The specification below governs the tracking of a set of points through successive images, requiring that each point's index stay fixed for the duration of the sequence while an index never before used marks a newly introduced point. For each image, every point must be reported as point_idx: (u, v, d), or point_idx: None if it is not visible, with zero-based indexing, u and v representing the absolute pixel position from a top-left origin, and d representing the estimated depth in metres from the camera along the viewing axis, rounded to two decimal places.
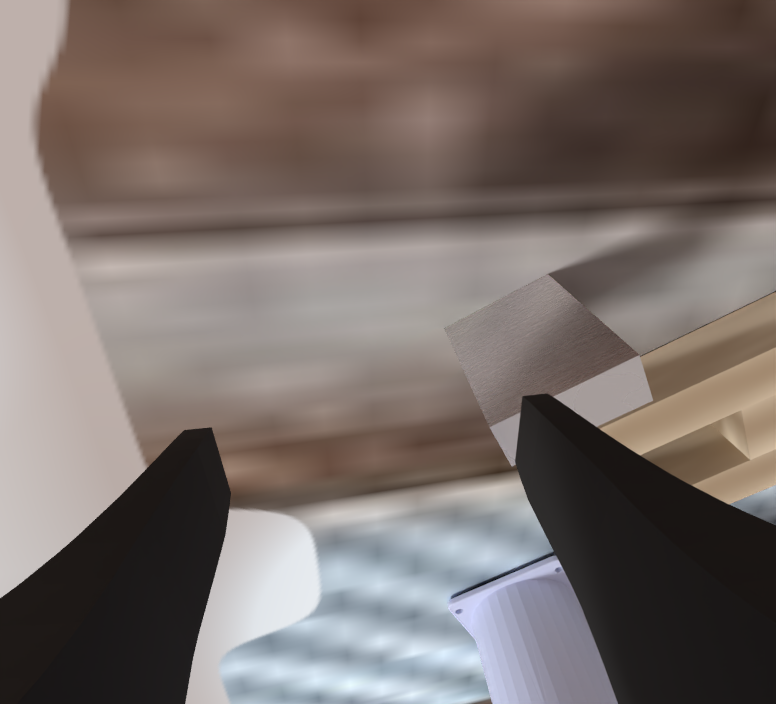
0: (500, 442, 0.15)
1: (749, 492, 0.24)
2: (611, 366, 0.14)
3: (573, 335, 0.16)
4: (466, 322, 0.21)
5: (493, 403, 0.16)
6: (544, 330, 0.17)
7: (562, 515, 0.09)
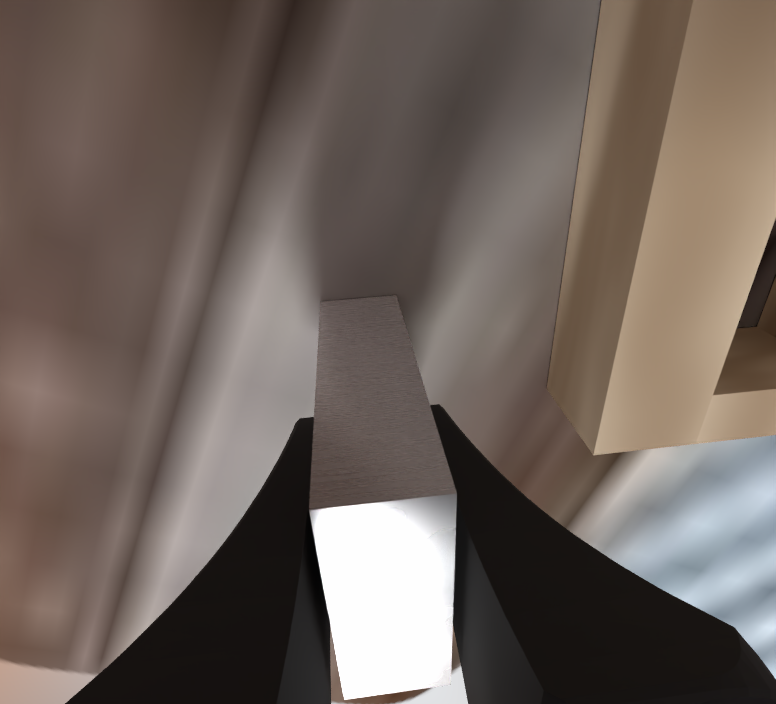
0: (386, 691, 0.09)
1: None
2: (316, 546, 0.07)
3: None
4: None
5: None
6: None
7: None
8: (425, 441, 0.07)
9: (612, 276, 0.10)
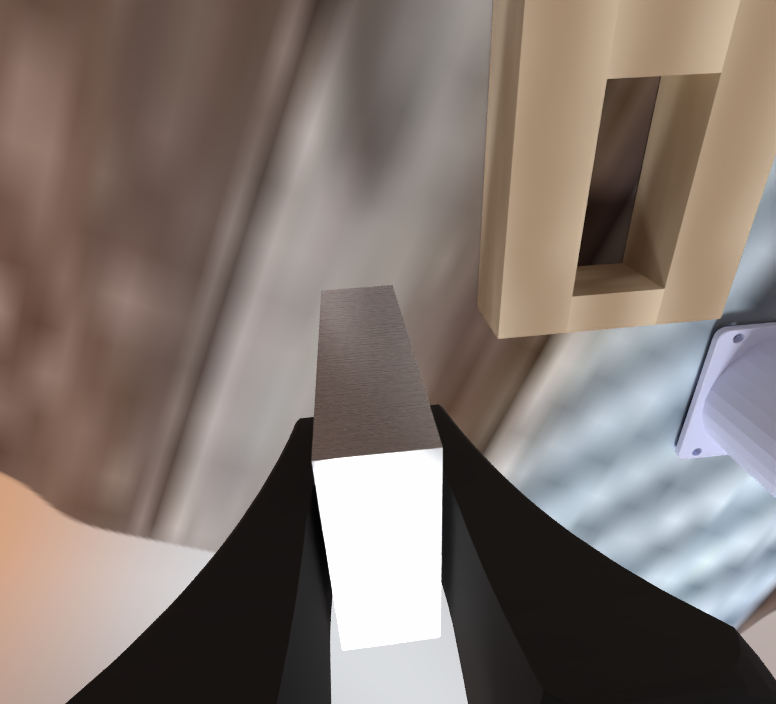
0: (381, 643, 0.10)
1: None
2: (318, 497, 0.08)
3: None
4: None
5: None
6: None
7: None
8: (416, 406, 0.08)
9: (501, 215, 0.16)
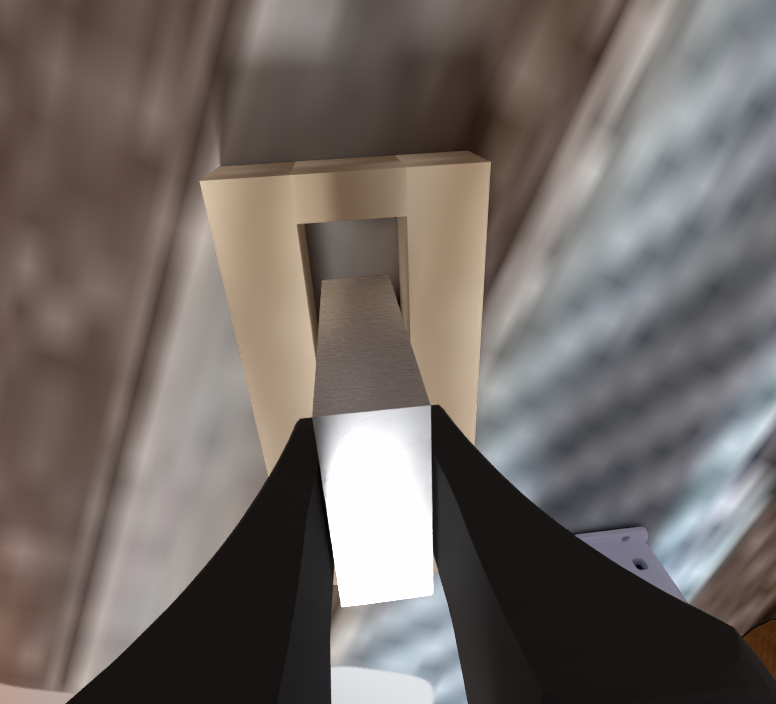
0: (378, 600, 0.10)
1: None
2: (318, 453, 0.08)
3: None
4: None
5: None
6: None
7: (437, 530, 0.09)
8: (407, 373, 0.09)
9: None
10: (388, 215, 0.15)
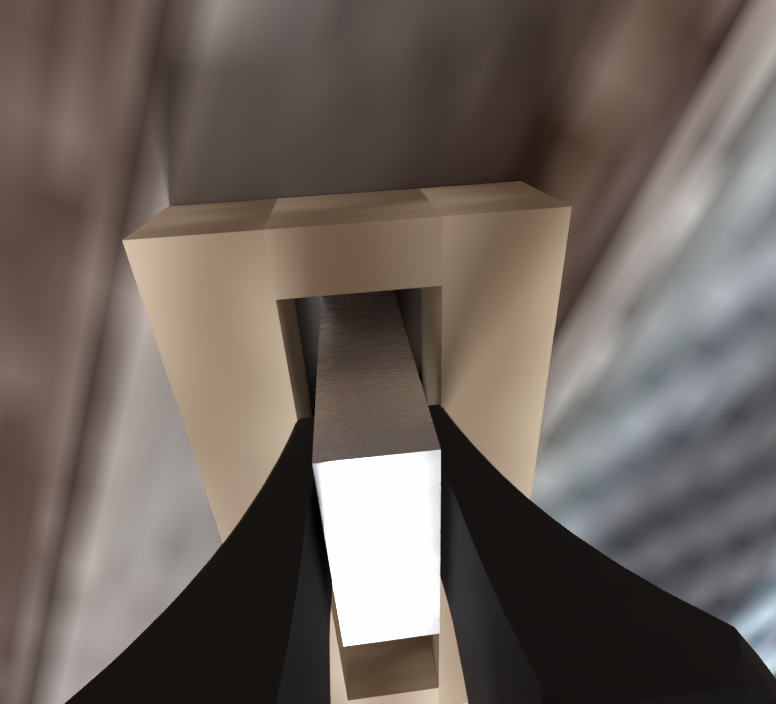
0: (381, 639, 0.10)
1: None
2: (318, 498, 0.08)
3: None
4: None
5: None
6: None
7: None
8: (414, 408, 0.08)
9: None
10: (414, 285, 0.10)
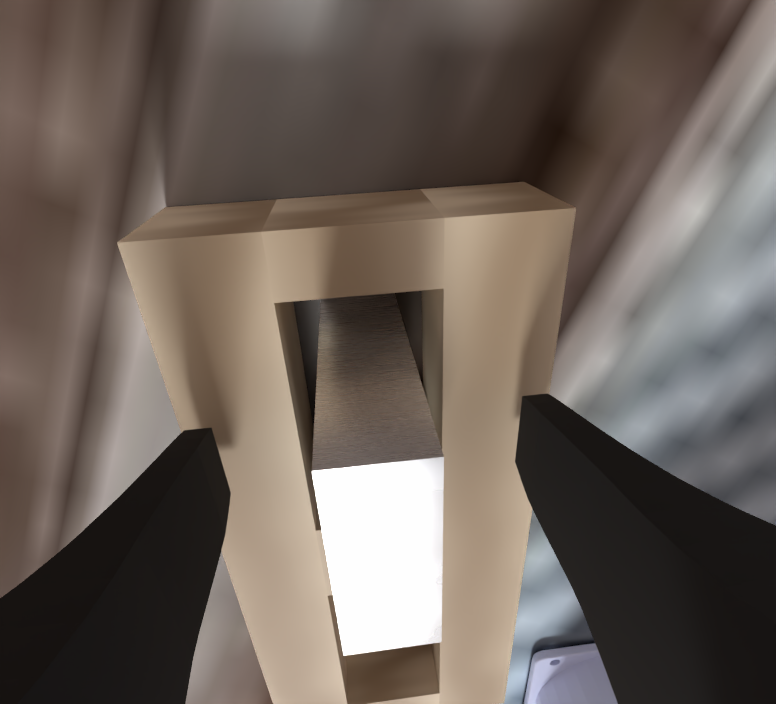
0: (382, 648, 0.10)
1: (514, 578, 0.15)
2: (318, 506, 0.08)
3: None
4: None
5: None
6: None
7: (562, 516, 0.09)
8: (416, 413, 0.08)
9: None
10: (415, 288, 0.10)
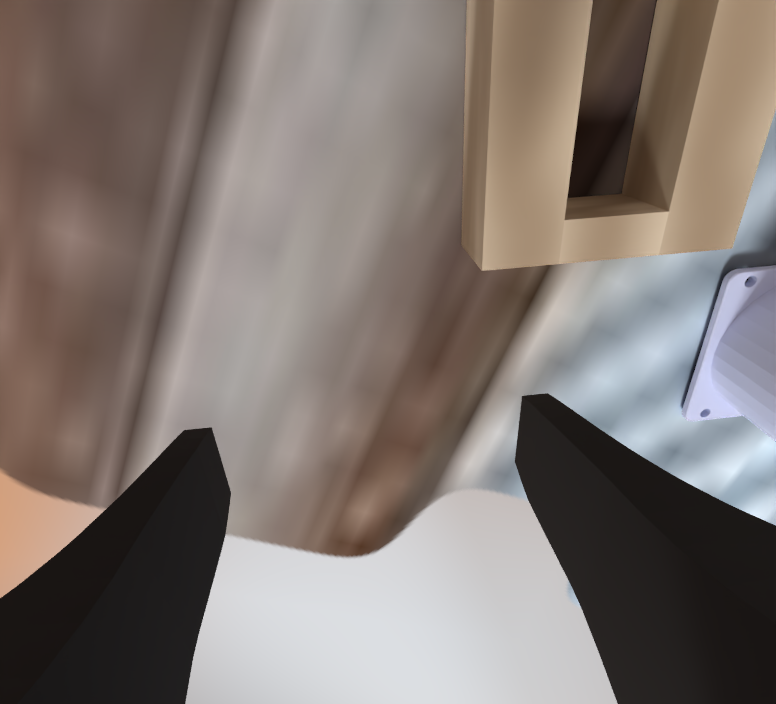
0: None
1: None
2: None
3: None
4: None
5: None
6: None
7: (562, 516, 0.09)
8: None
9: (482, 124, 0.15)
10: None
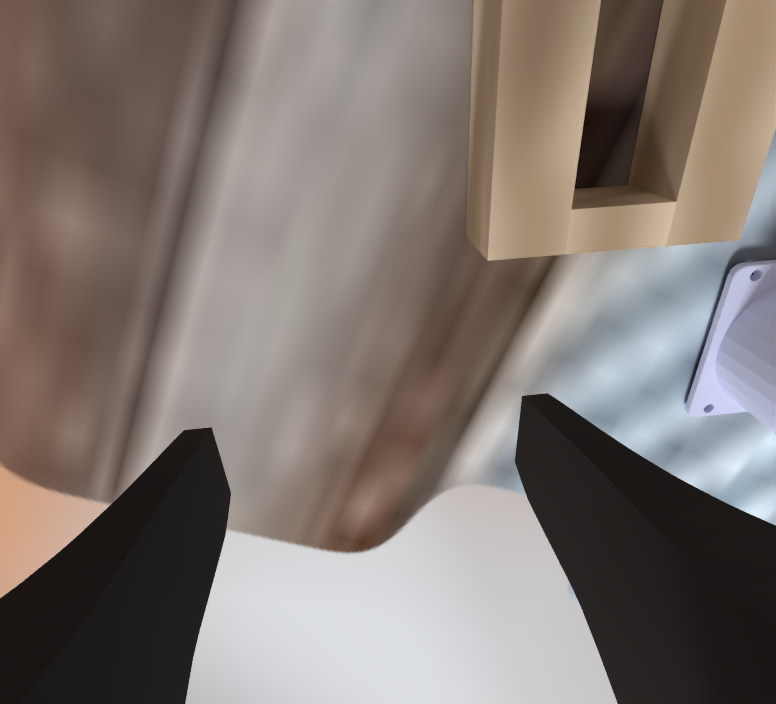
0: None
1: None
2: None
3: None
4: None
5: None
6: None
7: (562, 515, 0.09)
8: None
9: (489, 110, 0.14)
10: None
